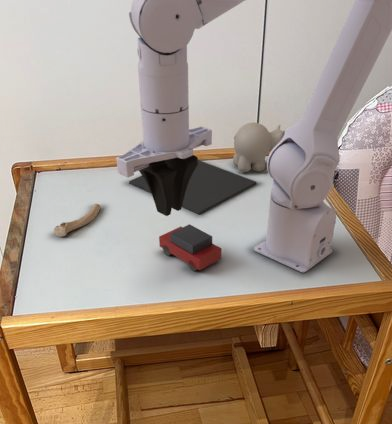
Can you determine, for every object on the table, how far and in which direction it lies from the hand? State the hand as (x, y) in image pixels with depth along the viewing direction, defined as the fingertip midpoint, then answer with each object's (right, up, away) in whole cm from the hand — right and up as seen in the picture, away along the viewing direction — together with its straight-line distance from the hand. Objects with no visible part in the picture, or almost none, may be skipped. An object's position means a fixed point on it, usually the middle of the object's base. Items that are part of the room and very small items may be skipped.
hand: (169, 210), depth 71 cm
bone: (-16, +2, +17) cm, 23 cm away
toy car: (+1, -5, +6) cm, 8 cm away
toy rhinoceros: (+17, +17, +33) cm, 41 cm away
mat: (+3, +12, +27) cm, 30 cm away
